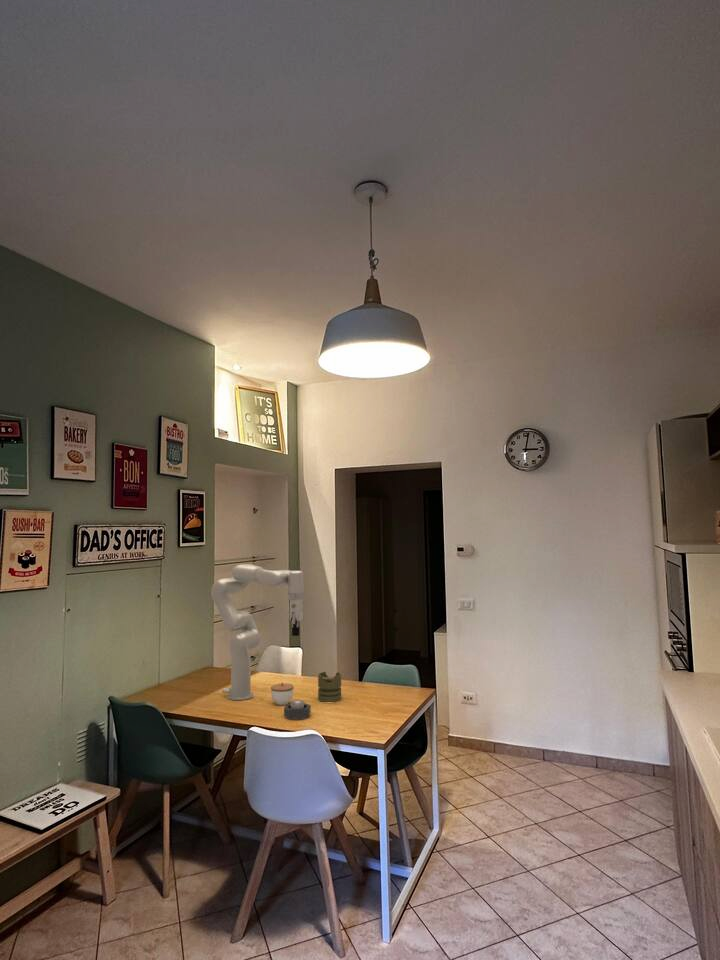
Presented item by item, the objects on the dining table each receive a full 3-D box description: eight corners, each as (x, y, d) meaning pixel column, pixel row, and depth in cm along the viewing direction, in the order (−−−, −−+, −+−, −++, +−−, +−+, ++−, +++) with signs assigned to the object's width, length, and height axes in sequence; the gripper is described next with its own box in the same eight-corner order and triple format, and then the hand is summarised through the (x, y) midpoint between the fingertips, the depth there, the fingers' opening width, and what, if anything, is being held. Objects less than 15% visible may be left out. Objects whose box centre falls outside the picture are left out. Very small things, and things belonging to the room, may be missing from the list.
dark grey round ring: (282, 719, 238) (282, 710, 238) (287, 711, 249) (287, 702, 249) (307, 720, 237) (307, 710, 237) (311, 712, 248) (311, 703, 248)
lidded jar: (296, 700, 267) (296, 680, 268) (289, 707, 256) (289, 686, 257) (275, 699, 269) (275, 679, 270) (267, 705, 258) (267, 685, 259)
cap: (289, 716, 240) (289, 703, 241) (292, 711, 246) (292, 699, 247) (302, 716, 240) (302, 703, 240) (305, 712, 246) (305, 700, 246)
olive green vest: (320, 671, 275) (342, 671, 274) (320, 696, 274) (342, 696, 273) (316, 676, 264) (339, 677, 263) (316, 702, 263) (339, 703, 262)
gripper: (300, 598, 257) (300, 638, 255) (306, 595, 272) (306, 632, 270) (284, 598, 257) (284, 638, 255) (291, 595, 272) (291, 632, 270)
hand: (295, 635), depth 263 cm, fingers closed
